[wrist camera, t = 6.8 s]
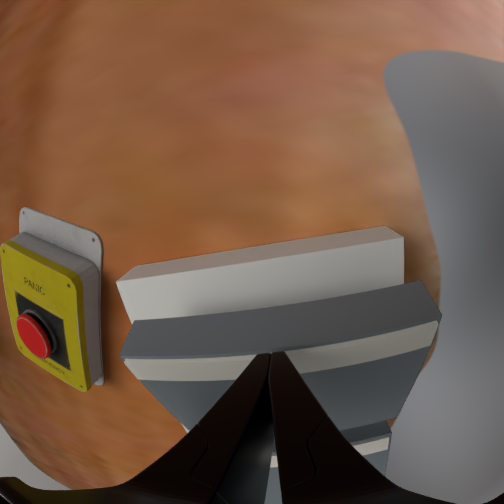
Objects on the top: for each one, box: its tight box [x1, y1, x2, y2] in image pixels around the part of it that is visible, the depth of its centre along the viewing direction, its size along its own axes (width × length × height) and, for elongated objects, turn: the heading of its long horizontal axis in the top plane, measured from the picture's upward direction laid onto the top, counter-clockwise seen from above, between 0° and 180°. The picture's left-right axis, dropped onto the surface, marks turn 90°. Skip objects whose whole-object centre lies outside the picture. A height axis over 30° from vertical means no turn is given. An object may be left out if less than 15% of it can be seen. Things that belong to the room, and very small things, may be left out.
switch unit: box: [116, 226, 404, 433], centre depth 17 cm, size 22×15×4 cm
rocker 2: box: [264, 420, 392, 504], centre depth 15 cm, size 9×12×2 cm
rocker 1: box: [119, 280, 442, 438], centre depth 12 cm, size 9×12×2 cm
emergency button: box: [0, 207, 104, 392], centre depth 17 cm, size 9×4×15 cm
